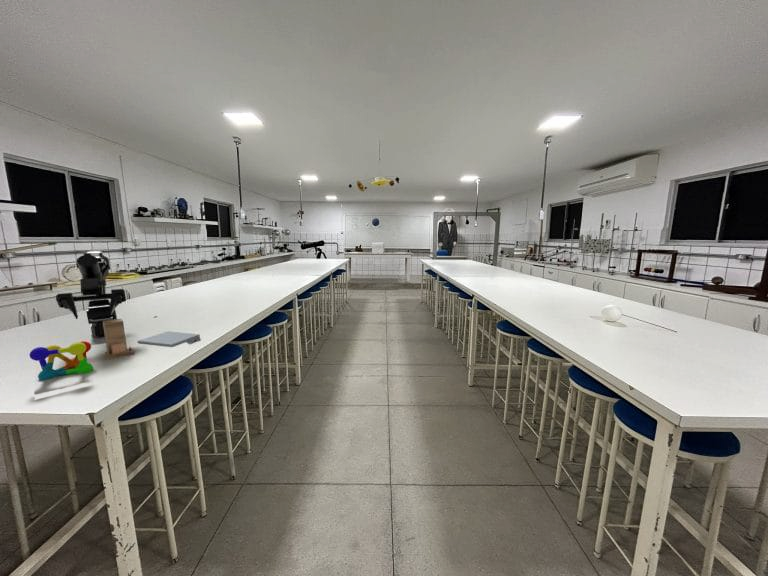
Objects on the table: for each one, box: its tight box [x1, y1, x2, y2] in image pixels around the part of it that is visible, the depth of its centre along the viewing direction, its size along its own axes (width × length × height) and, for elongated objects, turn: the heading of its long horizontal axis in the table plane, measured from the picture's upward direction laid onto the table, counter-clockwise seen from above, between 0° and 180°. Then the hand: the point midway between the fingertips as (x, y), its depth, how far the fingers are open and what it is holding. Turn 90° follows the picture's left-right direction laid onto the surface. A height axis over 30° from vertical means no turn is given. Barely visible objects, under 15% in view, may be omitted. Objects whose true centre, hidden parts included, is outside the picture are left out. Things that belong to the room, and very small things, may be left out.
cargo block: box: [111, 343, 128, 355], centre depth 108 cm, size 4×4×4 cm
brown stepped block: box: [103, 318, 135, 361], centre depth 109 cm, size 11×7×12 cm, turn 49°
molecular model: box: [29, 340, 94, 381], centre depth 92 cm, size 15×12×15 cm
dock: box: [137, 330, 201, 347], centre depth 124 cm, size 17×13×2 cm
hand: (94, 316), depth 112 cm, fingers open, 9 cm apart
